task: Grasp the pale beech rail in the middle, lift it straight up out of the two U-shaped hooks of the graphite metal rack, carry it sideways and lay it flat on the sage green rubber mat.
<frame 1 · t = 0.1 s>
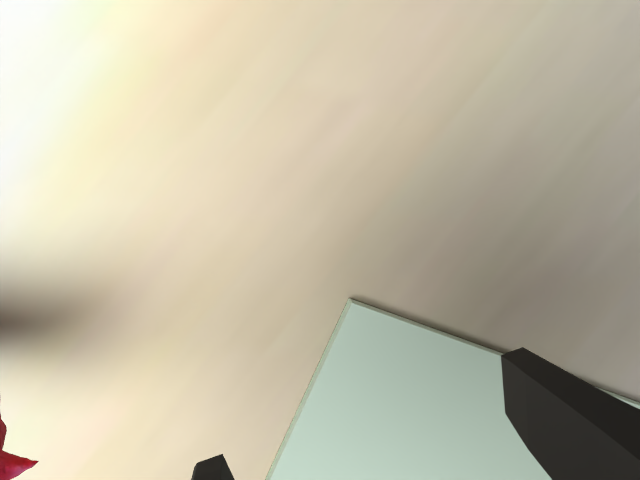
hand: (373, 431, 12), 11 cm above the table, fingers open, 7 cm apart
green mat: (471, 447, 26), on the table
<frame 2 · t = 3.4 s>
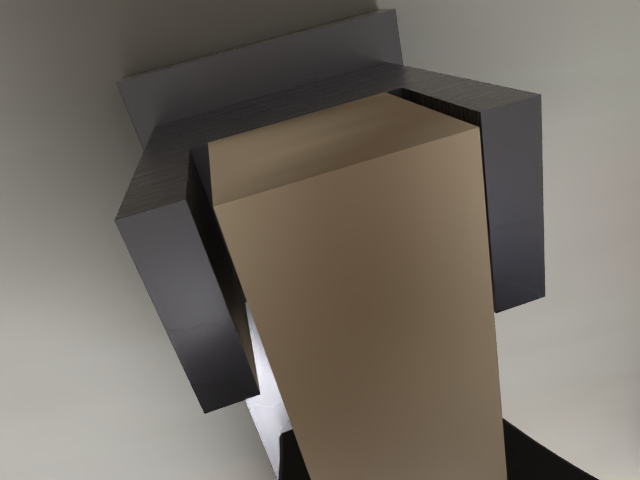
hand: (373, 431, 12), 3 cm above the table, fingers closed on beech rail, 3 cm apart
beech rail: (381, 450, 11), point 4 cm above the table, touching gripper, hook rack
hook rack: (337, 348, 15), on the table
when the fingers open (2 cm above the table, at t = 8.1 s): beech rail drops 2 cm, resting on green mat.
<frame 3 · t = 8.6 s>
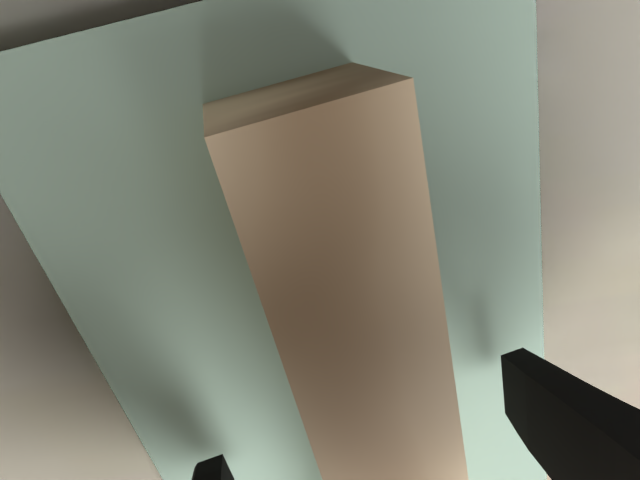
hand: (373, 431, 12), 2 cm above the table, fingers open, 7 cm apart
green mat: (352, 383, 14), on the table
beech rail: (358, 387, 13), point 1 cm above the table, touching green mat
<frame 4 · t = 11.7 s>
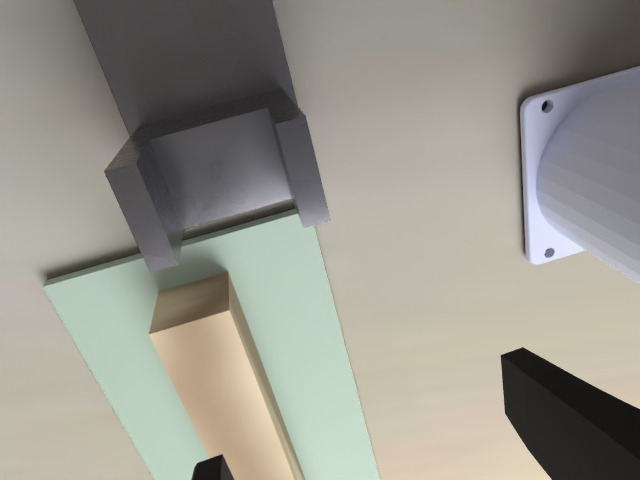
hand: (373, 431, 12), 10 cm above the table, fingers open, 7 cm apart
green mat: (249, 413, 24), on the table
beech rail: (249, 416, 24), point 1 cm above the table, touching green mat
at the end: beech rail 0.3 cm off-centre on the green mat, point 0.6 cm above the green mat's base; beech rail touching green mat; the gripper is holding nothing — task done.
